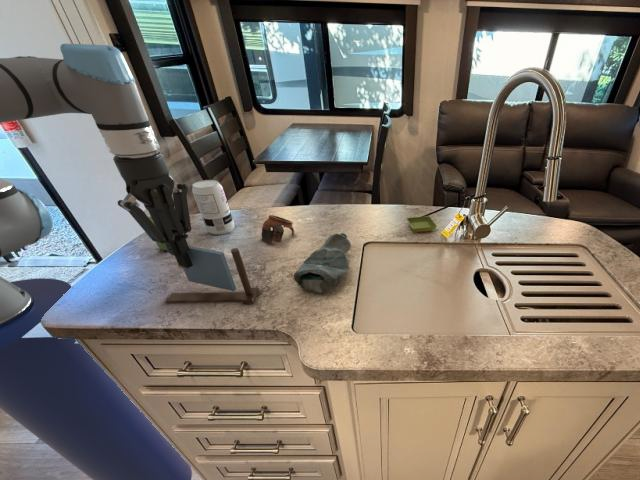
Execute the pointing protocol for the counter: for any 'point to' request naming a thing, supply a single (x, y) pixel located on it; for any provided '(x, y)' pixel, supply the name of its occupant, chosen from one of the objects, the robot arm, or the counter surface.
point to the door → (209, 268)
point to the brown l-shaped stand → (245, 297)
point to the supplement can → (213, 206)
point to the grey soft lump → (325, 265)
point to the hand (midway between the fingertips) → (186, 265)
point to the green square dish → (421, 223)
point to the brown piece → (275, 229)
